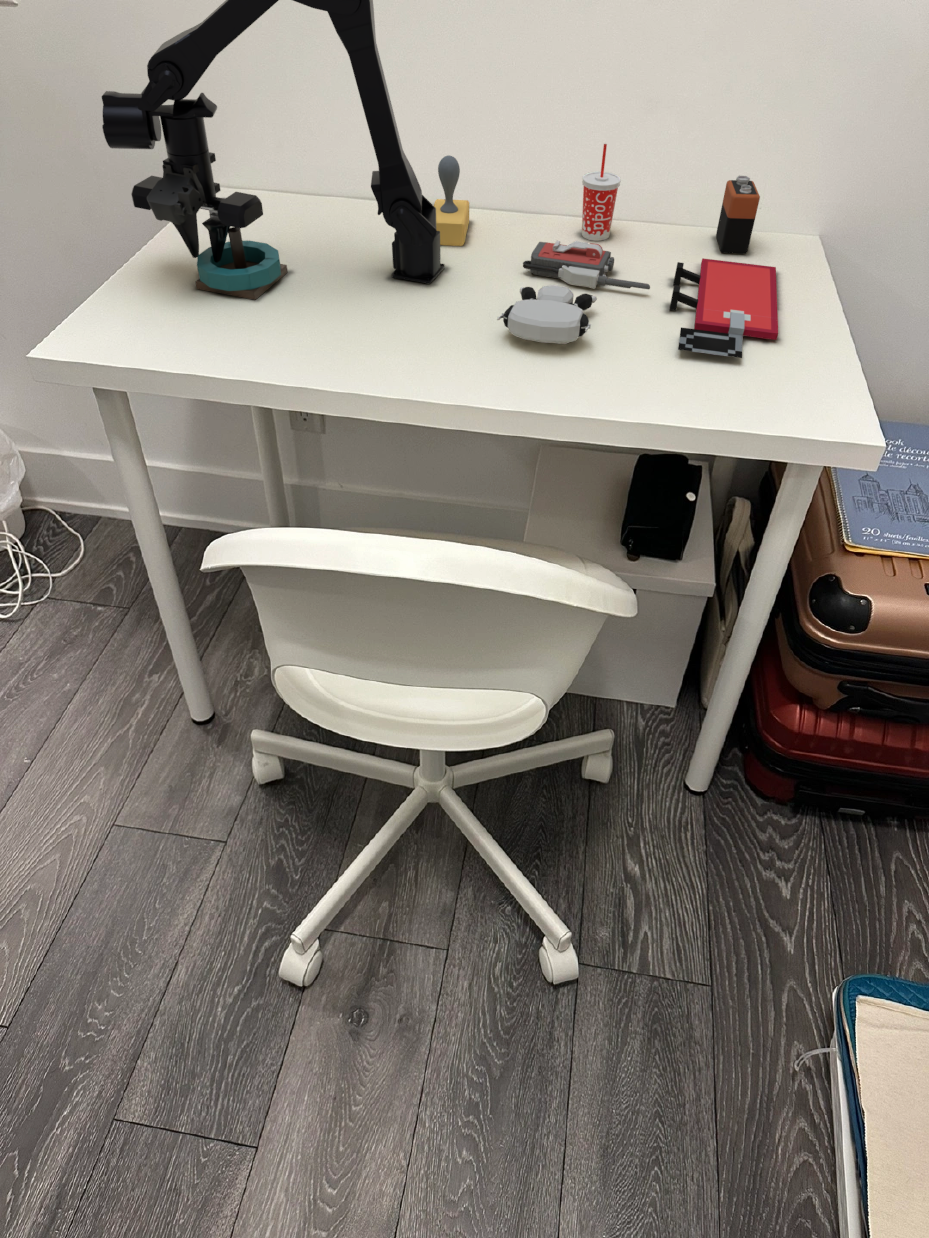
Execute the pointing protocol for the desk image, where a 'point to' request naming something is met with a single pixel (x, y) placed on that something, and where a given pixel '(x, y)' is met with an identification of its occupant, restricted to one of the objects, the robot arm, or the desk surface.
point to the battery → (737, 215)
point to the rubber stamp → (451, 206)
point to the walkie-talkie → (576, 264)
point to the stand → (240, 264)
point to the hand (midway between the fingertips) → (207, 259)
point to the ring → (240, 277)
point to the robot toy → (548, 315)
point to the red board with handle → (728, 306)
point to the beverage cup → (599, 202)
